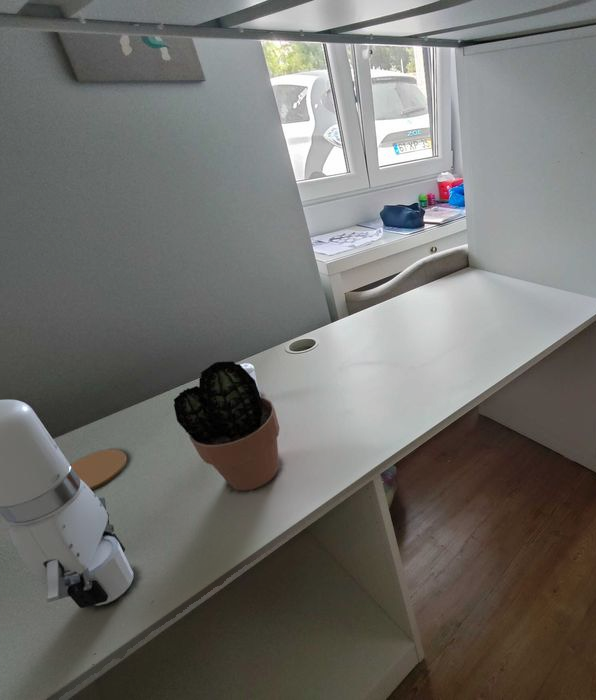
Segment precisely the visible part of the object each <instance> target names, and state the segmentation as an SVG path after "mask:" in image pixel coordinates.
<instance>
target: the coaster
mask: <svg viewBox="0 0 596 700" xmlns="http://www.w3.org/2000/svg"><path fill="white" fill-rule="evenodd" d="M127 459H128V458H127V456H126V453H125V452H123V451H122V450H119V449H104V450H99V451H96V452H93V453H90V454H88V455H86V456H83V457H81V458H79V459H77V460H76V461H74V462H73V463H72V464H70V465H71V467H72V468H73V470H74V471H75V473H76V474H77V476H78V477H79V478H80V479H81V480H82V481H83V482H84V483H85V484H86V485H87V486H88V487H89V488H90V489H91V490H92V491H93V490H95V489H96V488H99V487H102V486H103V485H105V484H106V483H108V482H110V481H111V480H112V479H114V478H115V477H116V476H117V475H119V473H120V472H121V471H123V469H124V468H125V466H126V463H127Z"/></svg>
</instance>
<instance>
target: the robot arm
mask: <svg viewBox="0 0 596 700" xmlns="http://www.w3.org/2000/svg"><path fill="white" fill-rule="evenodd" d="M0 516H2V518H3V519H4V520H5V521H6V522H7V523H8V524H9V526H8V529H7V530H8V533H9V536H10V539H11V541H12V543H13V545H14V548H15V549H16V551H17V553H18V554H19V556H20V557H21V559H22V561H23V562H24V563H25V565H26V567H27V568H28V569H29V571H30V572H31V573H32V574H33V575H34V577H35V578H36V580H38V581H39V583H41V584H43V585H46V588H45V589H46V590H45V591H46V592H45V593H46V595H45V596H46V597H45V598H46V601H47V602H48V603H51V602H55V601H58V600H62V599H66V598H69V597H70V598H71V599H72V600H73V602H74V603H75V604H76V605H77V606H78V607H79V608H80V609H85V608H89V607H92V606H96V605H95V604H99V603H102V602H105V601H107V599H108V595H107V593H106V592H105V591H104V589H103V588H102V587H101V586H100V584H99V583H98V582H97V581H96V580H94V581H91V577H90V573H89V570H88V566H89V565H90V563H91V561H92V558H93V556H94V554H95V552H96V549H97V547H98V545H99V542H100V540H101V537H102V536H106V535H107V536H112V537H115V538H116V539H117V541H118V542H119V544H120V546H121V548H122V550H123V552H124V553H125V551H126V548H125V547H124V545H123V543H122V542H121V540H120V539H119V538H118V536H117V534H116V533H114V532H115V527H114V525H113V524H111V523H110V513H109V512H108V511H107V504H106V498H105V497H104V496H103V497H97V495H96V494H95V493H94V492H93V489H92V490H91V489H90V488H89V487H88V486H87V485H86V484H85V483H84V482H83V481H82V480H81V479H80V478H79V477H78V476H77V474H76V473H75V471H74V470H73V468H72V467H71V464H70V462H69V461H68V459H67V458H66V456H65V455H64V454H63V452H62V451H61V449H60V447H59V445H57V443H56V441H55V440H54V438H53V437H52V436H51V434H50V433H49V431H48V430H47V428H46V427H45V426H44V424H43V423H42V421H41V420H40V418H39V416H38V415H37V414H36V412H35V411H34V409H33V408H32V407H31V406H30V405H29V404H27V403H25V402H23V401H21V400H17V399H0ZM75 574H79V578H80V582H78V583H74V584H71V581H70V578H69V576H72V575H75Z"/></svg>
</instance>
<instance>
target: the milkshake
mask: <svg viewBox="0 0 596 700" xmlns="http://www.w3.org/2000/svg"><path fill="white" fill-rule="evenodd" d="M240 365H241V366H242V367H243V368H244V369H245V370H246V372H247V373H248V374H249V375H250V376H251V377H252V378H253V379H254V380H255V382H256V385H257V388H258V391H259V394H260V397H262V396H261V391H260V388H259V384H258V380H257V376H256V375H257V374H256V369H255V367H254V365H253V364H251V363H247V362H246V363H240Z"/></svg>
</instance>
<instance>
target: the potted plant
mask: <svg viewBox="0 0 596 700" xmlns="http://www.w3.org/2000/svg"><path fill="white" fill-rule="evenodd" d="M240 364H241V363H240ZM240 364H239V363H236V362H235V361H233V360H232V361H231V360H230V361H215V362H214V363H212V364H211V365H209V366H208V367H206V368H205V369H204V370H203V371H201V372H200V377H199V378H198V380H199V383H198V385H195V386H193V387H190V388H189V387H187V388H186V389H183V391H181V392H179V395H177V396H176V397H175V398H173V402H174V404H173V408H174V412H175V416H176V417H175V418H176V421H177V423H178V424H179V425H180V426H181V428H182V429H184V431H185V432H186V433H187V434H188V436H189V440H190V442H191V443H192V445H193V447H194V448H195V450H196V452H197V453H198V456H199V457H200V459H202V461H203V462H205V463H206V464H208V465H211V466H213V468H214V469H215V470H216V471H217V472H218V473H219V475H221V477H222V478H223V479H224V481H226V482H227V483H228V485H229V486H230V487H231V488H232V489H234V490H237V491H249V490H255V489H258V488H260V487H262V486H264V485H266V484H267V483H268V482H270V481H271V480H272V479H273V478H274V477H275V476H276V474H277V473H278V471H279V469H280V468H279V467H280V460H279V459H280V458H279V447H278V445H279V444H278V437H279V435H280V423H279V420H278V418H277V417H278V416H277V414H276V409H275V406H274V404H273V403H272V401H271V400H270V399H269V398H267V397H265V396H261V393H260V394H259V392H260V390H259V391H258V388H259V387H258V388H257V385H256V382H255V380H254V379H253V378H252V377H251V376H250V375H249V374H248V373H247V372H246V370H245V369H244V368H243V367H242V366H241V365H240ZM260 396H261V397H260Z"/></svg>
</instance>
